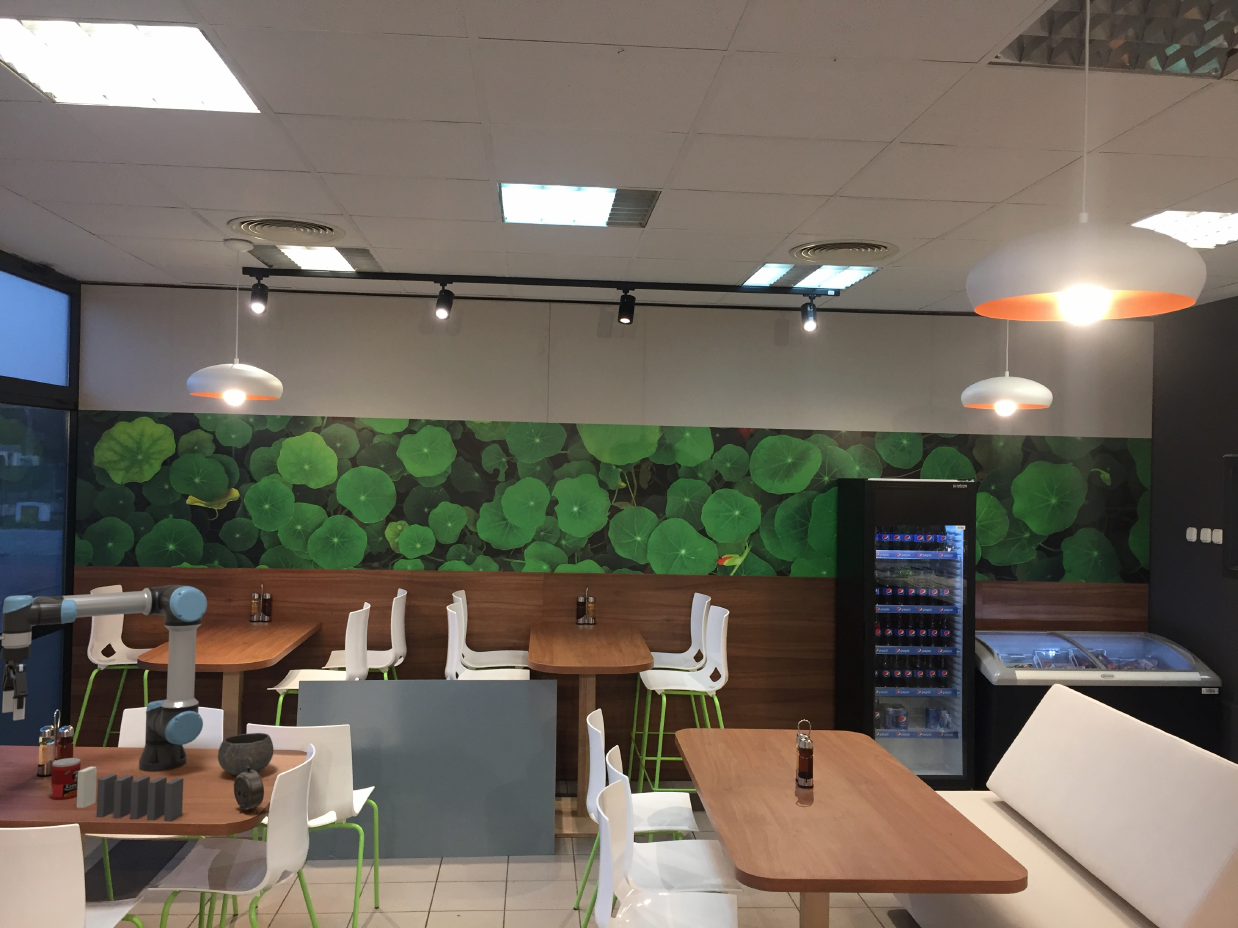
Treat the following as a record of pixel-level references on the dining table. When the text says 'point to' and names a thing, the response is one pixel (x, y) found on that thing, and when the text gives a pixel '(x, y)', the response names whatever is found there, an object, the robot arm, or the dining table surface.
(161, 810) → the tile
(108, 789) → the tile
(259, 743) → the bowl
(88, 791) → the tile
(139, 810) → the tile
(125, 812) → the tile
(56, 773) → the canned food
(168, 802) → the tile
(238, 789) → the alarm clock
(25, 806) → the dining table surface
